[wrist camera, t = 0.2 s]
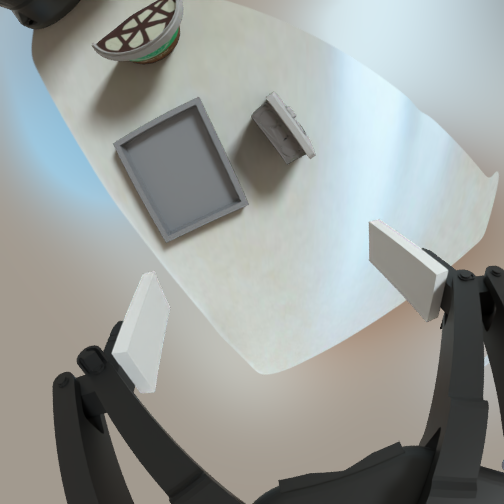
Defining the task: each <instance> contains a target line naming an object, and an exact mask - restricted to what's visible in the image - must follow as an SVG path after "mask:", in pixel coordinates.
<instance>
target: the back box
mask: <svg viewBox="0 0 504 504" xmlns="http://www.w3.org/2000/svg"><path fill="white" fill-rule="evenodd" d="M113 145H114V147H115V149H116V151H117V153H118V155H119V157H120V159H121V161H122V163H123V165H124V167H125V169H126V171H127V173H128V175H129V177H130V178H131V180H132V182H133V184H134V186H135V188H136V190H137V192H138V194H139V195H140V197H141V199H142V201H143V203H144V205H145V206H146V208H147V210H148V212H149V214H150V215H151V217H152V219H153V221H154V223H155V224H156V226H157V228H158V230H159V231H160V233H161V235H162V236H163V238H164V240H165V242H166V243H167V242H169V241H171V240H173V239H175V238H177V237H179V236H181V235H184V234H186V233H188V232H190V231H192V230H194V229H196V228H198V227H201V226H203V225H205V224H207V223H209V222H211V221H213V220H216V219H218V218H220V217H222V216H224V215H227V214H229V213H231V212H233V211H236V210H238V209H240V208H242V207H245V206H247V205H249V204H248V201H247V199H246V197H245V194H244V192H243V190H242V188H241V186H240V183H239V181H238V179H237V177H236V175H235V172H234V170H233V168H232V166H231V164H230V161H229V159H228V157H227V155H226V153H225V151H224V148H223V146H222V144H221V142H220V140H219V138H218V136H217V133H216V131H215V129H214V127H213V125H212V123H211V121H210V118H209V116H208V114H207V112H206V110H205V108H204V106H203V104H202V101H201V99H200V98H199V97H197V98H195V99H193V100H191V101H189V102H187V103H185V104H183V105H181V106H179V107H177V108H175V109H173V110H171V111H169V112H167V113H165V114H163V115H161V116H159V117H157V118H155V119H154V120H152V121H150V122H148V123H146V124H145V125H143V126H141V127H139V128H138V129H136V130H134V131H133V132H131V133H129V134H128V135H126V136H124V137H123V138H121V139H120V140H118V141H116V142H115V143H113Z"/></svg>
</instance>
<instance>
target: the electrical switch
mask: <svg viewBox="0 0 504 504" xmlns="http://www.w3.org/2000/svg"><path fill="white" fill-rule="evenodd" d="M266 99H267V100H268V102H266V103H265V104H263V105H262V106H261V107H259V108H258V109H257V110H256V111H255V112H254V113H253V115H252V116H251V117H252V118H253V119H254V121H255V122H256V123H257V125H258V126H259V127H260V128H261V130H262V131H263V132H264V134H265V135H266V136H267V138H268V139H269V140H270V142H271V143H272V144H273V146H274V147H275V148H276V150H277V151H278V152H279V154H280V155H281V157H282V158H283V159H284V161H285V162H286V163H287V165H288V164H289V163H291V162H292V161H294V160H295V159H298V158H300V157H302V156H304V155H306V154H307V156H308V157H309V158H310V159H311V158H312V157H314V156H315V155H316V154H315V151H314V148H313V146H312V143H311V141H310V139H309V137H308V136H307V134H306V133H305V131H304V130H303V128H302V127H301V125H300V124H299V123H298V121H297V120H296V118H295V117H296V114H295V113H294V111H293V110H292V109H291V108H290V106H289V107H287V106H286V105H285V103H284V102H283V101H282V99H281V98H280V97H279V95H278V94H277V93H276V92H272V93H270V94H269V95H268V96H266ZM261 124H262V125H261ZM270 127H271V128H270ZM281 147H282V148H281Z"/></svg>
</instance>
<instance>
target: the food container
mask: <svg viewBox="0 0 504 504" xmlns="http://www.w3.org/2000/svg"><path fill="white" fill-rule="evenodd" d="M182 17H183V2H182V0H157V1H156V2H154V3H152V4H151V5H149V6H147V7H145V8H144V9H142V10H140V11H138V12H137V13H135V14H133V15H132V16H130V17H129V18H128V19H126V20H125V21H124V22H123V23H122V24H120V25H119V26H118V27H117V28H116V29H114V30H113V31H112V32H110V33H109V34H108V35H107V36H105V37H104V38H103V39H102V40H100V41H99V42H98V43H97V44H94V43H92V44H93V45H92V47H93V48H94V50H95V51H96V52H97V53H98V54H99V55H101V56H102V57H104V58H107V59H110V60H114V61H131V62H133V63H139V64H148V63H154V62H156V61H159V60H161V59H163V58H165V57H166V56H167V55H168V54H170V53H171V52H172V51H173V49H174V48H175V47H176V45H177V43H178V40H179V37H180V23H181V20H182Z"/></svg>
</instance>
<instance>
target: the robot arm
mask: <svg viewBox="0 0 504 504" xmlns="http://www.w3.org/2000/svg"><path fill="white" fill-rule="evenodd" d="M79 1H80V0H0V6H1V7H4V8H7V9H10V10H12V12H13V13H14V15H15V16H16V17H17V19H18V20H19V22H20V23H21V24H22V25H24V26H26V27H28V28H31V29H41V28H44V27H47V26H49V25H51V24H53V23H55V22H57V21H58V20H60V19H61V18H62V17H64V16H65V15H66V14H67V13H68V12H70V11H71V10H72V9H73V8H74V7H75V6H76V5H77V3H78V2H79ZM369 261H370V262H371V263H372V264H373V265H374V266H375V267H376V268H377V269H378V270H379V271H380V272H381V273H382V274H383V275H384V276H385V277H386V278H387V279H388V280H389V282H390V283H391V284H392V285H393V286H394V287H395V288H396V289H397V290H398V291H399V292H400V293H401V294H402V295H403V296H404V298H405V299H406V300H407V301H408V302H409V303H410V304H411V305H412V306H413V307H414V308H415V310H416V311H417V312H418V313H419V314H420V315H421V316H422V318H423V319H424V320H425V321H426V322H429V321H431V320H433V319H435V318H437V317H438V315H439V311H440V307H441V308H442V310H443V311H444V312H445V313H444V316H443V320H442V323H441V327H440V329H442V340H441V350H440V357H439V365H438V372H437V378H436V384H435V390H434V395H433V400H432V404H431V409H430V413H429V418H428V421H427V425H426V429H425V432H424V435H423V437H422V439H421V441H420V444H419V446H404V447H402V446H401V444H400V442H397V443H395V444H393V445H390V446H388V447H386V448H383V449H381V450H379V451H377V452H374V453H372V454H370V455H369V456H367V457H366V458H364V459H363V460H361V461H360V462H358V463H356V464H355V465H353V466H351V467H350V468H348V469H346V470H344V471H339V472H326V473H310V474H306V475H301V476H298V477H293V478H288V479H283V480H279V486H278V487H275V488H273V489H271V490H270V491H268V492H266V493H265V494H263V495H262V496H261V497H259V498H258V499H257V500H256V501H255V502H254V503H253V504H504V473H503V472H499V471H496V470H492V469H489V468H485V467H482V466H480V464H481V459H482V454H483V449H484V443H485V436H486V429H487V419H488V409H489V407H488V406H489V405H488V401H485V400H483V387H484V386H483V385H484V344H485V347H486V351H487V354H488V358H489V362H490V365H491V369H492V373H493V378H494V382H495V387H496V391H497V396H498V402H499V407H500V414H501V421H502V429H503V435H504V270H503V269H501V268H500V267H497V266H489V267H487V268H486V271H485V275H484V276H475V275H474V274H473V273H472V272H470V271H468V270H457V271H456V270H455V269H454V268H453V267H451V266H450V265H449V264H447V263H446V262H445V261H444V260H442V259H441V258H440V257H437V255H436V254H434V253H433V252H432V251H430V250H427V249H424V248H419V247H418V246H416V245H415V244H414V243H412V242H411V241H410V240H408V239H407V238H405V237H404V236H403V235H401V234H400V233H398V232H397V231H396V230H394V229H393V228H391V227H390V226H388V225H387V224H386V223H384V222H383V221H381V220H380V219H378V220H373V221H369ZM169 312H170V307H169V304H168V302H167V300H166V297H165V295H164V292H163V290H162V288H161V285H160V283H159V280H158V278H157V276H156V273H155V271H153V272H149V273H144V274H143V275H142V278H141V280H140V282H139V285H138V287H137V289H136V292H135V294H134V297H133V299H132V301H131V304H130V306H129V309H128V311H127V314H126V316H125V319H124V321H119V322H118V323H117V324H116V325H115V326H114V327H113V329H112V331H111V333H110V337H109V339H108V342H107V344H106V346H105V349H104V351H102V350H101V348H99V347H98V346H95V345H94V346H89V347H87V348H85V349H84V350H83V351H82V352H81V353H80V354H79V355H78V358H77V364H78V365H79V367H80V368H81V369H82V371H83V372H84V373H85V374H86V375H83V376H80V377H78V378H75V377H74V375H73V374H72V373H70V372H64V373H62V374H60V375H58V377H57V378H56V379H55V380H54V382H53V413H54V426H55V438H56V445H57V454H58V460H59V466H60V472H61V477H62V482H63V487H64V491H65V496H66V500H67V503H68V504H134V502H133V500H132V498H131V495H130V493H129V490H128V488H127V486H126V483H125V480H124V477H123V475H122V472H121V469H120V466H119V463H118V460H117V458H116V455H115V451H114V448H113V445H112V442H111V438H110V435H109V431H108V428H107V424H106V420H105V416H104V413H108V415H109V417H110V418H111V420H112V422H113V423H114V425H115V426H116V428H117V429H118V431H119V432H120V434H121V435H122V437H123V438H124V440H125V441H126V443H127V444H128V446H129V447H130V449H131V450H132V451H133V453H134V454H135V456H136V457H137V458H138V459H139V461H140V462H141V464H142V465H143V466H144V467H145V469H146V470H147V471H148V472H149V474H150V475H151V476H152V477H153V479H154V480H155V481H156V482H157V483H158V485H159V486H160V487H161V488H162V489H163V490H164V491H165V493H166V494H167V495H168V496H169V501H170V503H171V504H245V503H244V502H243V501H241V500H240V499H239V498H237V497H236V496H235V495H233V494H232V493H231V492H229V491H228V490H227V489H226V488H224V487H223V486H222V485H221V484H220V483H219V482H217V481H216V480H215V479H214V478H213V477H211V475H209V474H208V473H207V472H206V471H205V470H204V469H203V468H202V467H201V466H199V465H198V464H197V463H196V462H195V461H194V460H193V459H192V458H191V457H190V456H189V455H188V454H187V453H186V452H185V451H184V450H183V449H182V448H181V447H180V446H179V445H178V444H177V443H176V442H175V441H174V440H173V439H172V438H171V436H170V435H169V434H168V433H167V432H166V431H165V430H164V429H163V428H162V427H161V425H160V424H159V423H158V422H157V421H156V420H155V419H154V417H153V416H152V415H151V414H150V413H149V411H148V410H147V409H146V408H145V407H144V405H143V404H142V403H141V402H140V401H139V399H138V398H137V397H136V395H135V394H134V388H135V387H136V388H137V389H138V391H139V392H140V393H152V392H155V389H156V382H157V376H158V370H159V364H160V358H161V352H162V347H163V341H164V336H165V331H166V326H167V321H168V316H169ZM502 468H503V470H504V460H503V462H502Z"/></svg>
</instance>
